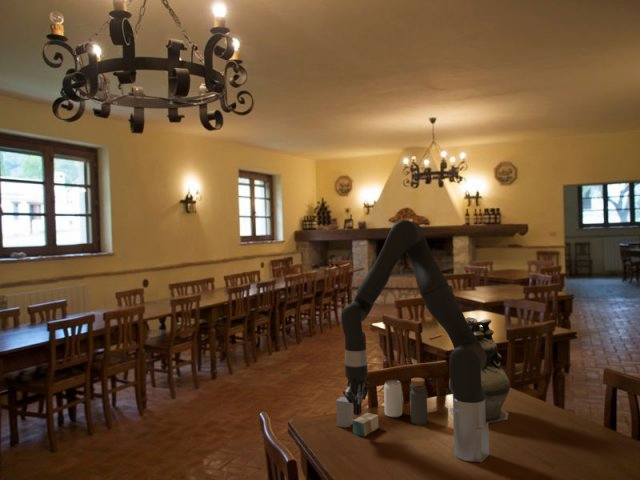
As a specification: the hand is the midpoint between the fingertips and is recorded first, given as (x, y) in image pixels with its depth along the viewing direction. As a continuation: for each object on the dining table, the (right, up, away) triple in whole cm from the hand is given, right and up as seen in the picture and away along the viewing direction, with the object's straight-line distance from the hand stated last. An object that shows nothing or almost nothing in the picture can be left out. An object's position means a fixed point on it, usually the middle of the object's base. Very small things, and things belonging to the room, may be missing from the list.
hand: (357, 414), depth 166 cm
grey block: (-4, -7, +10) cm, 12 cm away
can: (+15, -7, +18) cm, 24 cm away
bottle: (+23, -6, +10) cm, 26 cm away
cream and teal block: (0, -5, 0) cm, 5 cm away
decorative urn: (+46, -6, +15) cm, 48 cm away
